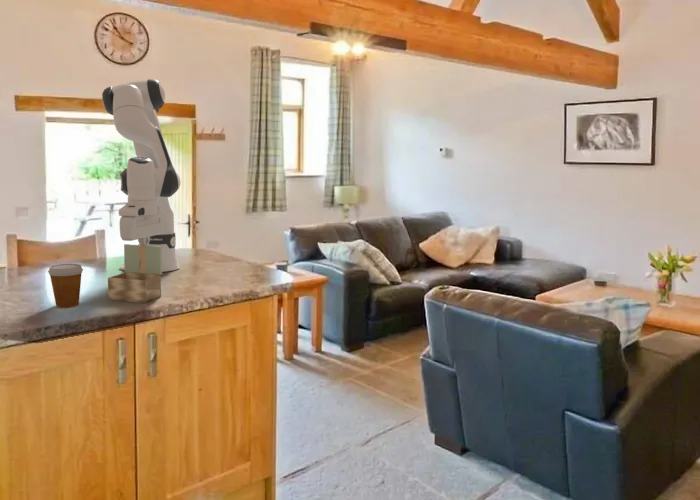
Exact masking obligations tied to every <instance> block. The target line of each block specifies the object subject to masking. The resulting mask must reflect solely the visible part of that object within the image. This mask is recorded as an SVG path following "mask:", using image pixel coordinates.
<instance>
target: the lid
mask: <svg viewBox="0 0 700 500" xmlns="http://www.w3.org/2000/svg"><path fill="white" fill-rule="evenodd" d="M123 247H124V248H123V249H124V251H123V252H124V253H123V254H124V255H123V256H124V257H123V258H124V259H123V260H124V263H123V264H124V265H125V270H124V272H125V273H138V274H151V275H161V276H162V274H163V272H162V247H161V246H147V245H138V244H127V243H126V244H123Z"/></svg>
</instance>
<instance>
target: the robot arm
mask: <svg viewBox="0 0 700 500" xmlns="http://www.w3.org/2000/svg"><path fill="white" fill-rule="evenodd" d="M101 96H102V97H101V100H102V104H103V108H104V110H106V112H107V113H108V114H109V115H111V116H113V123H114V127H115V129H116V131H117V132H118V133H119V135H121V136H122V137H123V138H124V139H127V140H129V141H131V142H132V143H133V147H134V151H135V157H131V158H129V159H128V160H127V166H126V167H127V168H124V169H123V170H122V172H120V173H119V175H120V176H119V177H120V191H121V192H122V193H123V194H125V195H126V196H127V203H125V204H124V206H122V207H120V208H119V209H118V216H119V217H120V219H119V235H120V238H121V240H122V241H124V242H125V241H126V242H131V241H132V242H133V241H136V240H137V242H138V244H137V245H147V246H161V247H162V273H163V272H164V273H165V272H171V271H176V270H178V269H180V265H179V263H178V257H177V253H176V243H177V242H176V232H175V220H174V219H175V217H174V216H175V215H174V211H173V209H172V208H171V205H170V201H169V198H171V197H172V196H173V195H175V194H176V192H178V190H179V189H180V186H181V183H182V182H181V181H182V180H181V178H180V175H179V174H178V173H177V171H176V169H175V167H174V166H173V163H172V161H171V157H170V154H169V151H168V149H167V145H166V143H165V140H164V137H163V133H162V127H161V124H160V120H159V118H158V115H157V113H159V112H160V109H162V108H163V106H164V105H165V101H166V91H165V88H164V87H163V85H162V84H161V82H160V81H159V80H157V79H155V78H154V79H153V78H152V79H151V78H149V79H148V78H147V79H146V80H134V81H129V82H126V83H119V84H117V85H115V86H113V85H111V86H108V87H106V88H105V89H104V90H103V91H102V93H101ZM119 270H120V271H121V270H123V271H125V265H124V263H123V264H121V265H120V266H119Z"/></svg>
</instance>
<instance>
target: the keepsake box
mask: <svg viewBox="0 0 700 500" xmlns="http://www.w3.org/2000/svg"><path fill="white" fill-rule="evenodd" d="M161 276H162V274H161V275H159V274H144V273H133V272H125V271H124V272H121V273H119V274H115V275H113V276H110V277H107V287H108V288H107V290H108V293H107V294H108V300H109V301H119V302H132V303H141V304H147V303H149V302H151V301H154V300H156V299H158V298H161V297H162V280H161V279H162V277H161Z"/></svg>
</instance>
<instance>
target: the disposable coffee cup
mask: <svg viewBox="0 0 700 500" xmlns="http://www.w3.org/2000/svg"><path fill="white" fill-rule="evenodd" d="M83 271H84V268H83V266H82V264H79V263H57V264H53V265H50V266H49V269H48V271H47V273H48V275H49V276H50V281H51V286H52V292H53V296H54V303H55V307H57V308H61V309H63V308H65V309H66V308H67V309H68V308H74V307H77V306H79V305H80V295H81V294H80V293H81V283H82V273H83Z"/></svg>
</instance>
